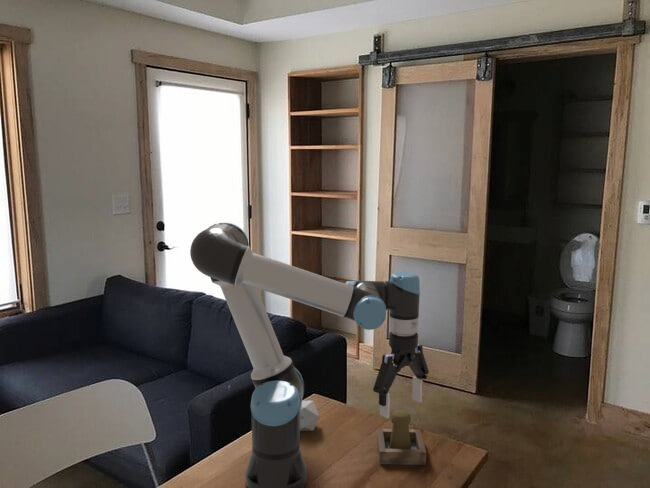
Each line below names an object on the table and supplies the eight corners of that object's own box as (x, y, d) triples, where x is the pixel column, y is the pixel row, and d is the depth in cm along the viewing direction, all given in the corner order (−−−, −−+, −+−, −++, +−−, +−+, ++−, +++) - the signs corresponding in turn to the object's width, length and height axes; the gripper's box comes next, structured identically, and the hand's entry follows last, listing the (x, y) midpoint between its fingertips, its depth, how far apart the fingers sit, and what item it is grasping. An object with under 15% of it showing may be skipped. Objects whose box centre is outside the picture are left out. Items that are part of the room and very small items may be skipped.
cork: (411, 457, 142) (412, 418, 141) (388, 455, 144) (388, 416, 142) (411, 445, 148) (412, 408, 147) (389, 443, 149) (390, 406, 148)
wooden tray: (379, 464, 140) (379, 451, 140) (377, 440, 152) (377, 428, 152) (425, 465, 140) (426, 452, 139) (419, 441, 152) (420, 429, 151)
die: (284, 427, 161) (283, 411, 154) (302, 404, 166) (301, 388, 159) (307, 443, 158) (307, 428, 150) (324, 419, 163) (325, 403, 156)
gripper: (382, 346, 130) (380, 428, 133) (443, 325, 146) (440, 399, 150) (360, 338, 135) (358, 417, 138) (421, 319, 152) (418, 390, 155)
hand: (401, 408), depth 144 cm, fingers open, 13 cm apart
